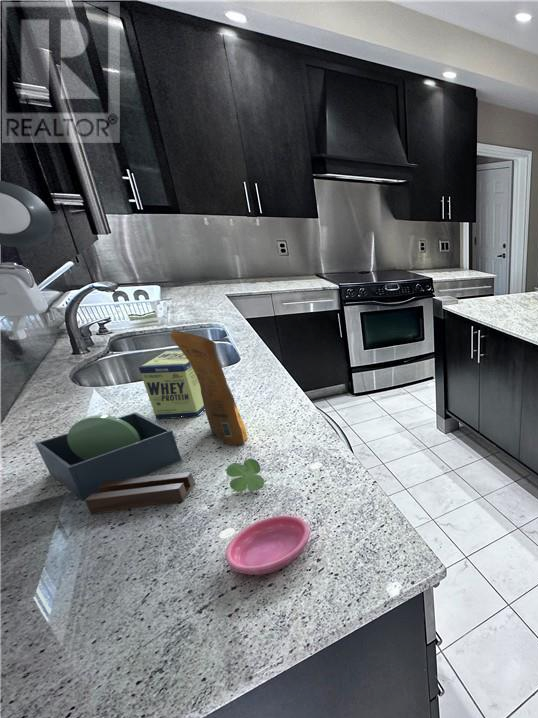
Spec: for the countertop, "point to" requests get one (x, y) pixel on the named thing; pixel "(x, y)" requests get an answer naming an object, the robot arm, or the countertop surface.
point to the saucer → (267, 545)
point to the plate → (100, 436)
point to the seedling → (245, 476)
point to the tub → (111, 458)
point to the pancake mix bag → (213, 387)
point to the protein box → (172, 385)
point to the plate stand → (141, 492)
